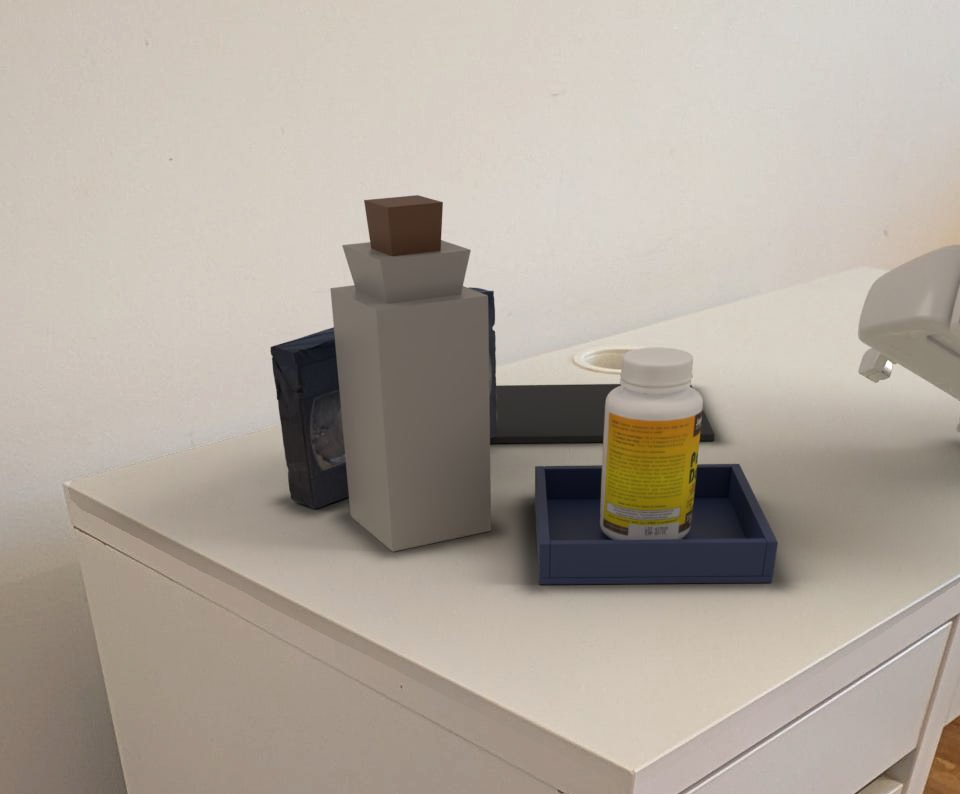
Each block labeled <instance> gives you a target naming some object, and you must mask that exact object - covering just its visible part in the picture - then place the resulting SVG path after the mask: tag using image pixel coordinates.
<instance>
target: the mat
mask: <svg viewBox="0 0 960 794" xmlns="http://www.w3.org/2000/svg"><path fill="white" fill-rule="evenodd" d="M618 386H621V384H620V383H590V384H589V383H585V384H584V383H581V384H519V385H518V384H515V385H514V384H513V385H509V384H508V385H507V384H506V385H505V384H504V385H496V394H497V406H496V408H497V432H496V435H495V437H492V438H490V444H550V443H551V444H555V443H557V444H558V443H559V444H560V443H564V444H565V443H603V436H604V417H605V403H606V398H607V396H608V394H609V393H610V392H611V391H612V390H613V389H615V388H616V387H618ZM690 387H692V388H693V389H694V387H693V385H692V384H691V385H690ZM715 437H716V435H715V432H714V430H713V428H712V426H711V423H710V421H709V420H708V417H707V415H706V413H705V410H703V412H702V420H701V431H700V441H699V442H713V441H715Z"/></svg>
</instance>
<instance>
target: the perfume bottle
mask: <svg viewBox="0 0 960 794" xmlns="http://www.w3.org/2000/svg"><path fill="white" fill-rule="evenodd" d="M363 203H364V209H365V216H366V217H365V218H366V223H367V229H368V236H369V241H367V242H359V243H349V244H348V243H347V244H342V246H341V247H342V250H343V253H344V256H345V260H346V262H347V266H348V269H349V272H350V275H351V278H352V281H353V284H352V285H347V286H346V285H345V286H337V287H330V298H331V311H332V322H333V327H334V334H335V346H336V357H337V368H338V379H339V391H340V402H341V413H342V424H343V436H344V447H345V458H346V469H347V481H348V492H349V496H348V502H349V512H350V517H351V518H352V519H353V520H354V521H355V522H356V523H358V525H360V526H361V527H363V528H364V529H365V530H366V531H367V532H369V534H371V535H372V536H373V537H374V538H375V539H376V540H378V541H379V542H380V543H381V544H383V546H385V547H387V548H388V549H389V550H390V551H391V552H397V551H404V550H407V549H412V548H416V547H422V546H427V545H430V544H431V545H432V544H436V543H441V542H445V541H451V540H454V539H458V538H459V539H460V538H463V537H470V536H473V535H478V534H483V533H486V532H487V533H488V532H491V531H492V497H491V495H492V489H491V487H492V486H491V484H492V483H491V443H490V405H489V326H488V295H485V294H482V293H480V292H477V291H475V290H472V289H469V287H468V286H464V283H465V278H466V274H467V269H468V264H469V260H470V256H471V251H472V250H471V249H469V248H466V247H463V246H460V245H458V244H455V243H452V242H448V241H445V240H443V239H442V233H443V232H442V230H443V229H442V228H443V210H444V209H443V208H444V202H443V201H441V200H438V199H437V200H436V199H432V198H430V197H425V196H422V195H418V194H416V195H406V196H394V197H392V196H391V197H384V198H383V197H381V198H373V199H372V198H371V199H364V200H363Z"/></svg>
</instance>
